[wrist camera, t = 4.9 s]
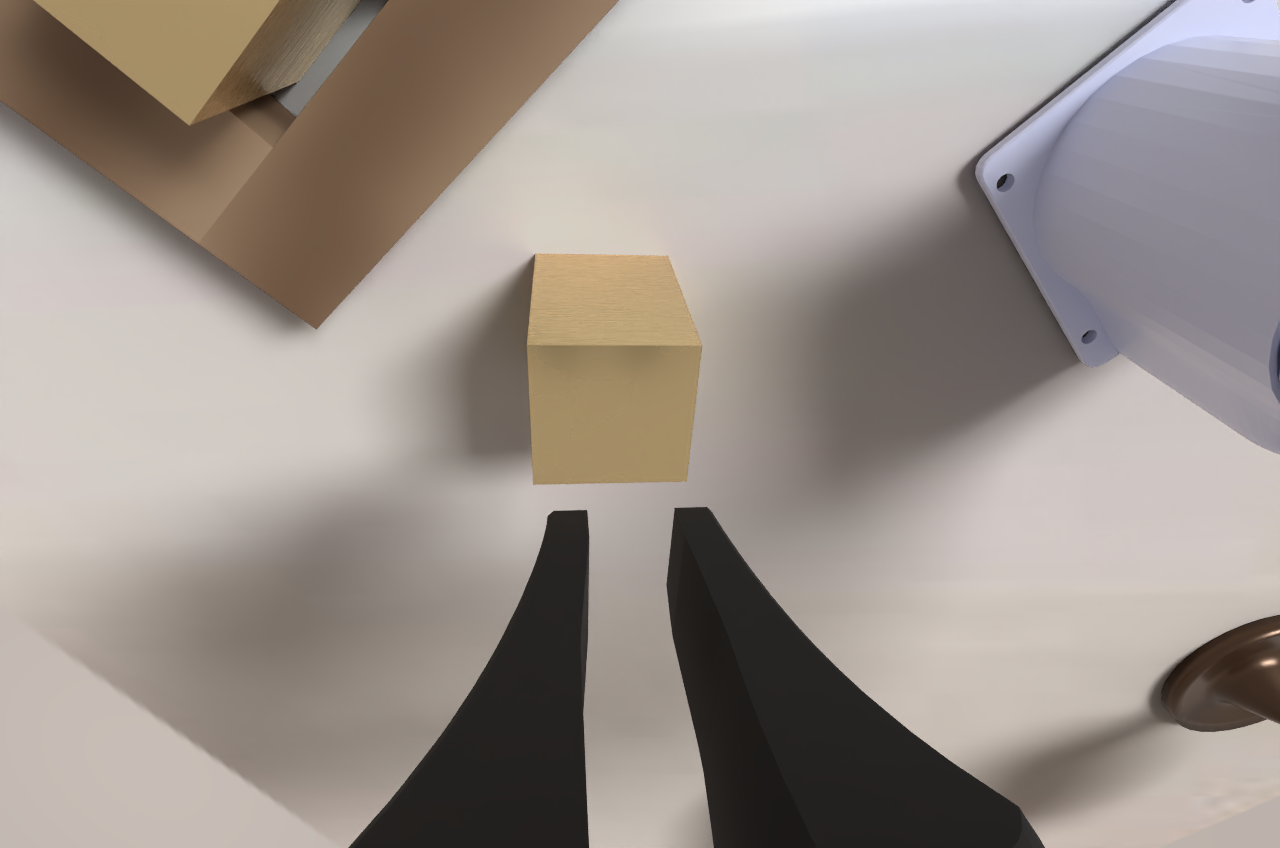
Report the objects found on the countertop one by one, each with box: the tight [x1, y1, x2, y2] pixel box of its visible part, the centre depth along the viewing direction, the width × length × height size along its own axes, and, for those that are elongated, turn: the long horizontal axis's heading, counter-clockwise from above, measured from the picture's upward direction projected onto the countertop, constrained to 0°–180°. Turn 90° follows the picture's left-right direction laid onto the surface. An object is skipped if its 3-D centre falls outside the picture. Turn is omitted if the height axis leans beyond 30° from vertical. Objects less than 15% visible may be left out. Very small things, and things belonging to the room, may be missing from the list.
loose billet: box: [527, 254, 702, 485], centre depth 19 cm, size 4×4×6 cm
